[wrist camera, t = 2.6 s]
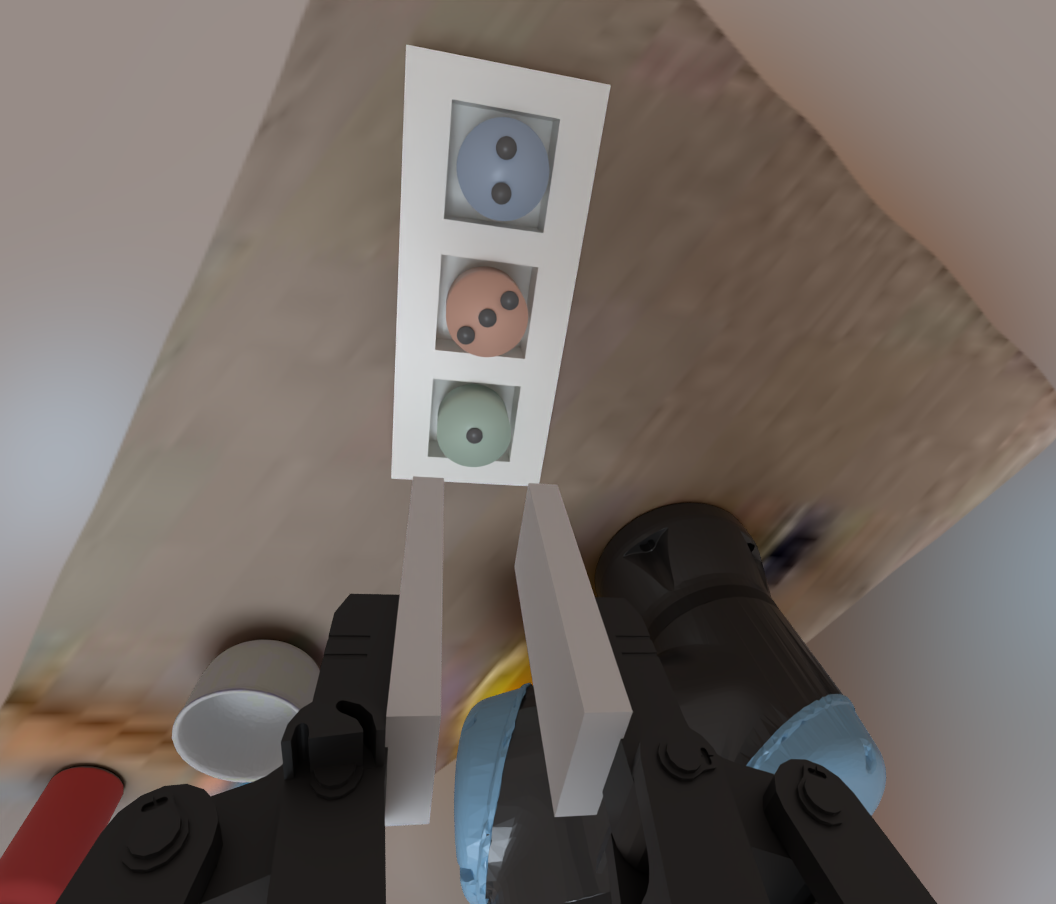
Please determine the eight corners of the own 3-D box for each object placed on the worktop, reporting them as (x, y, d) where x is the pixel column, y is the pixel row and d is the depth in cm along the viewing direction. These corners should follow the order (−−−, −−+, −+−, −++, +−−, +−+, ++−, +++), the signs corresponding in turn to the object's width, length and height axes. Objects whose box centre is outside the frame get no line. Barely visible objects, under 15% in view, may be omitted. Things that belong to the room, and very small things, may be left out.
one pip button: (511, 387, 39) (516, 405, 36) (502, 449, 41) (506, 470, 38) (440, 380, 38) (439, 398, 35) (435, 444, 40) (434, 466, 37)
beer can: (131, 800, 58) (61, 943, 47) (61, 802, 56) (-28, 949, 46) (120, 761, 55) (43, 905, 44) (45, 763, 53) (-53, 911, 43)
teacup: (203, 693, 52) (165, 777, 45) (214, 611, 47) (173, 689, 40) (352, 710, 55) (339, 790, 48) (376, 635, 51) (364, 711, 44)
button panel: (597, 90, 33) (610, 84, 30) (533, 467, 44) (538, 486, 42) (409, 54, 31) (406, 44, 28) (394, 458, 42) (391, 478, 40)
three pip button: (527, 271, 35) (534, 281, 32) (517, 346, 37) (522, 362, 35) (449, 261, 34) (449, 270, 31) (443, 338, 36) (442, 354, 34)
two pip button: (547, 128, 31) (556, 125, 29) (534, 221, 34) (542, 227, 31) (460, 112, 30) (461, 108, 28) (453, 209, 33) (453, 214, 30)
